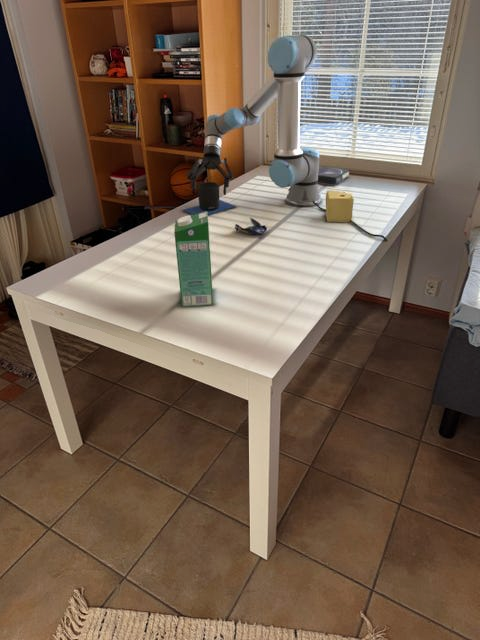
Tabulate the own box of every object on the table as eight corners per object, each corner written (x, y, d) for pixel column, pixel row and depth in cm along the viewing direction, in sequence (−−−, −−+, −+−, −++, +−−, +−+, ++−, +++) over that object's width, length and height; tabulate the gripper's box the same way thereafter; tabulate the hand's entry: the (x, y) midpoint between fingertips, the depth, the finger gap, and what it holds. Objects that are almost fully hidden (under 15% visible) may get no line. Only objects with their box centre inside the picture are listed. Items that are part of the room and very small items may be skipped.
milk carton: (182, 291, 142) (174, 212, 129) (212, 290, 143) (207, 210, 130) (181, 306, 135) (173, 223, 121) (213, 304, 135) (208, 222, 122)
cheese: (349, 213, 197) (351, 190, 192) (352, 222, 188) (354, 198, 183) (324, 213, 198) (326, 190, 193) (325, 222, 189) (327, 198, 184)
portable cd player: (336, 185, 232) (336, 177, 230) (304, 181, 240) (305, 173, 238) (348, 177, 243) (349, 169, 241) (318, 173, 251) (319, 166, 249)
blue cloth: (235, 207, 208) (235, 206, 207) (198, 218, 197) (198, 216, 197) (219, 201, 216) (219, 199, 215) (183, 210, 205) (183, 209, 205)
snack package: (249, 225, 189) (229, 232, 182) (251, 210, 185) (231, 217, 178) (272, 237, 183) (252, 245, 176) (274, 222, 179) (254, 230, 172)
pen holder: (195, 210, 204) (193, 187, 199) (204, 203, 211) (202, 181, 206) (215, 212, 201) (214, 189, 196) (223, 205, 209) (222, 182, 203)
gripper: (241, 154, 210) (238, 197, 205) (186, 154, 212) (182, 197, 208) (239, 144, 202) (236, 189, 198) (183, 144, 205) (178, 188, 200)
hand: (209, 193), depth 203 cm, fingers open, 13 cm apart
